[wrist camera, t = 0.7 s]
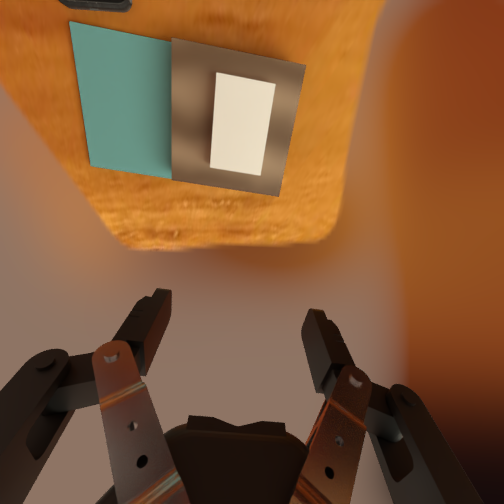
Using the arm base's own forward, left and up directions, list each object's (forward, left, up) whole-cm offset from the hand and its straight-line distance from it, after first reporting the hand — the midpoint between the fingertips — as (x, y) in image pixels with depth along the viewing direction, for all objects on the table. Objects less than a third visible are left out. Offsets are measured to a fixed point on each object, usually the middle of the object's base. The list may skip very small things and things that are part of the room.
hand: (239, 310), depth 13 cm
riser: (-10, -3, -24) cm, 26 cm away
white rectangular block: (-10, -2, -19) cm, 21 cm away
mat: (-10, -16, -24) cm, 30 cm away
